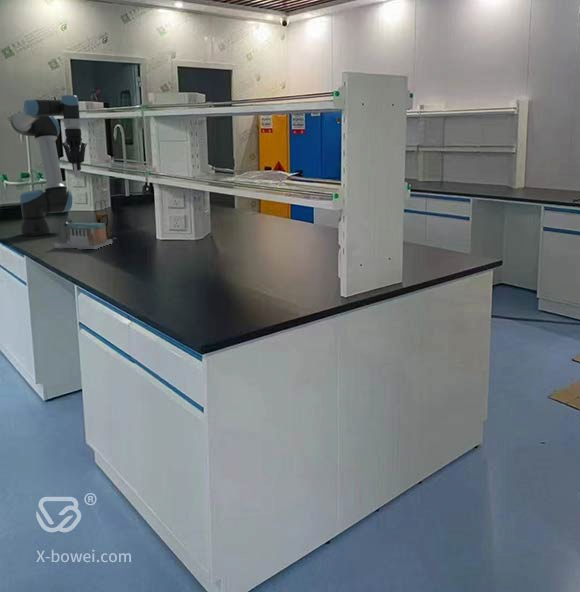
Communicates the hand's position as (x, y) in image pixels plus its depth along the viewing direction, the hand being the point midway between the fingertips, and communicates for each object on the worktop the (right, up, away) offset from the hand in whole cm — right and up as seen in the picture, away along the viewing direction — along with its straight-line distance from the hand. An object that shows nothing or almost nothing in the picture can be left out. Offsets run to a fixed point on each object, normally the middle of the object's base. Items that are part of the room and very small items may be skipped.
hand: (77, 176), depth 311 cm
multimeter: (+12, -30, +15) cm, 35 cm away
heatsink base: (+5, -35, -4) cm, 35 cm away
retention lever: (+5, -26, -7) cm, 27 cm away
